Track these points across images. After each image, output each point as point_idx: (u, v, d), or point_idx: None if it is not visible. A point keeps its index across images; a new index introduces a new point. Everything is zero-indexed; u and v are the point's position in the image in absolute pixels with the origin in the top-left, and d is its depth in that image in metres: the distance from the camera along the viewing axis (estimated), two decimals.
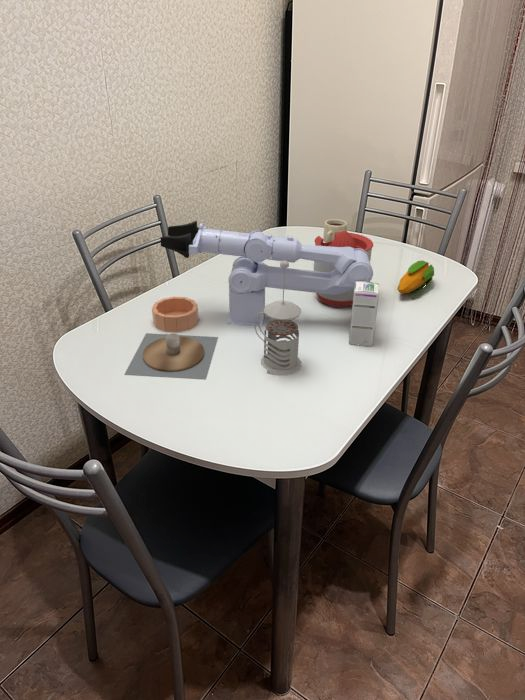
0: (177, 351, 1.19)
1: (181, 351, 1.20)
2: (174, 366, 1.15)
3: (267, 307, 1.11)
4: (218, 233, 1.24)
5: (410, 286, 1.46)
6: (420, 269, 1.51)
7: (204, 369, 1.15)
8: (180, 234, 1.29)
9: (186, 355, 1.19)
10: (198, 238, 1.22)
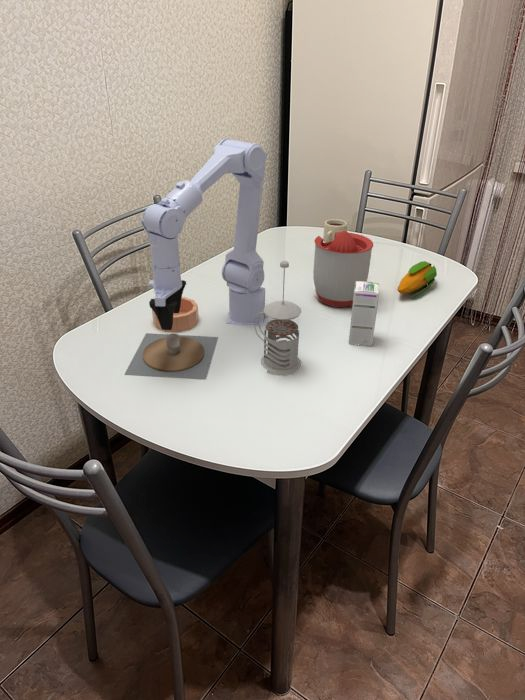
0: (177, 351, 1.19)
1: (181, 351, 1.20)
2: (174, 366, 1.15)
3: (267, 307, 1.11)
4: (152, 266, 1.08)
5: (410, 286, 1.46)
6: (422, 270, 1.50)
7: (204, 369, 1.15)
8: (175, 300, 1.17)
9: (186, 355, 1.19)
10: (154, 291, 1.08)
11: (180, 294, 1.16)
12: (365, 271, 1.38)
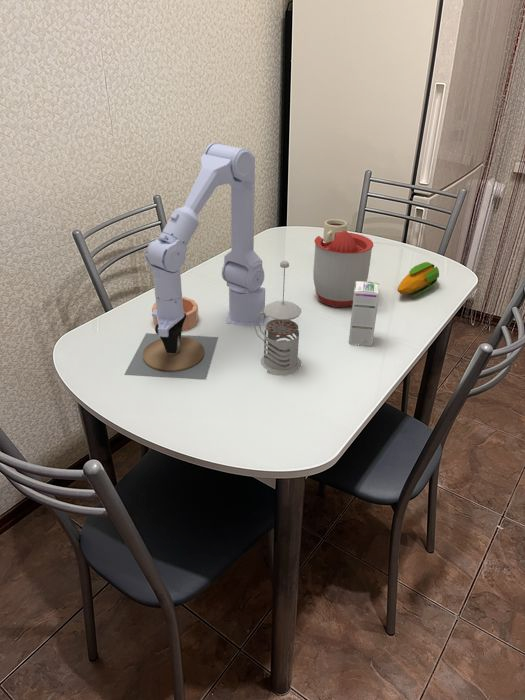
0: (177, 351, 1.19)
1: (181, 351, 1.20)
2: (174, 366, 1.15)
3: (267, 307, 1.11)
4: None
5: (410, 287, 1.45)
6: (424, 271, 1.50)
7: (204, 369, 1.15)
8: None
9: (186, 355, 1.19)
10: None
11: (180, 326, 1.18)
12: (365, 271, 1.38)
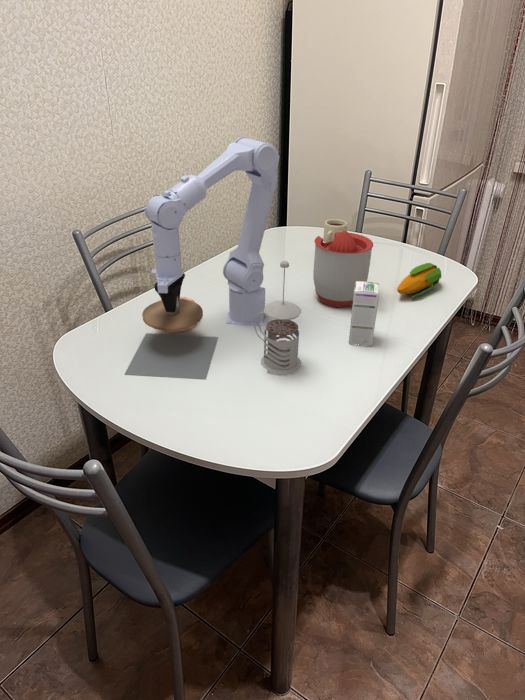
0: (176, 311, 1.20)
1: (180, 312, 1.22)
2: (173, 325, 1.17)
3: (267, 307, 1.11)
4: None
5: (410, 287, 1.45)
6: (425, 272, 1.49)
7: (204, 369, 1.15)
8: None
9: (185, 315, 1.20)
10: (157, 279, 1.13)
11: (179, 286, 1.20)
12: (365, 271, 1.38)
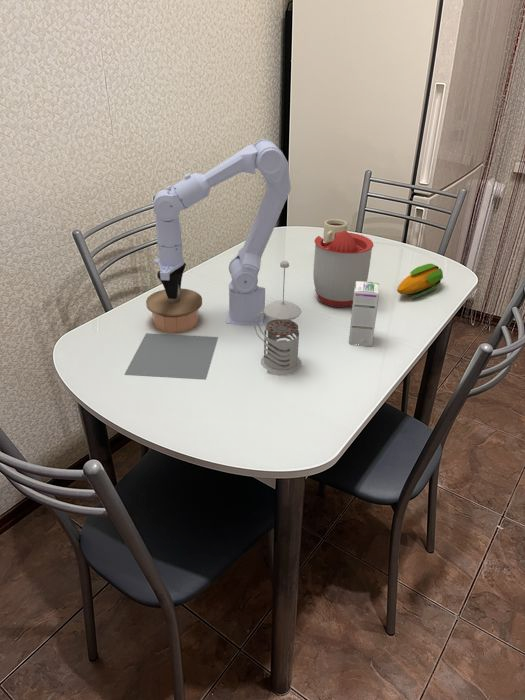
0: (177, 299, 1.30)
1: (181, 300, 1.31)
2: (174, 311, 1.26)
3: (267, 307, 1.11)
4: None
5: (410, 287, 1.45)
6: (426, 272, 1.49)
7: (204, 369, 1.15)
8: None
9: (186, 303, 1.29)
10: None
11: (180, 275, 1.29)
12: (365, 271, 1.38)
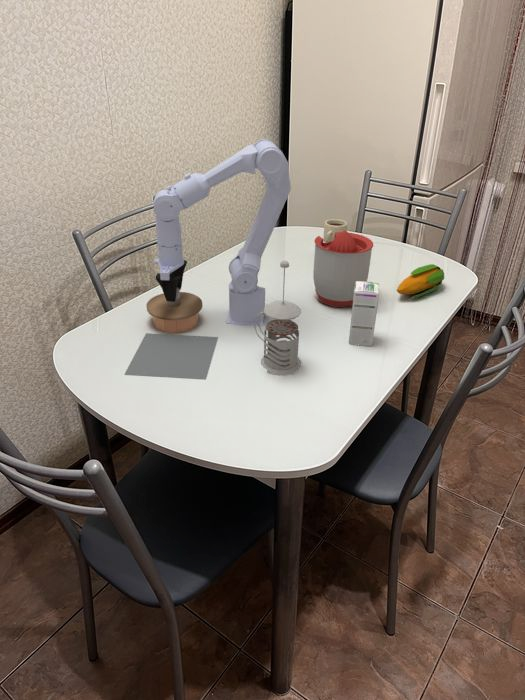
0: (177, 303, 1.30)
1: (181, 303, 1.32)
2: (174, 315, 1.26)
3: (267, 307, 1.11)
4: None
5: (410, 287, 1.45)
6: (427, 273, 1.49)
7: (204, 369, 1.15)
8: None
9: (186, 307, 1.30)
10: None
11: (182, 272, 1.30)
12: (365, 271, 1.38)
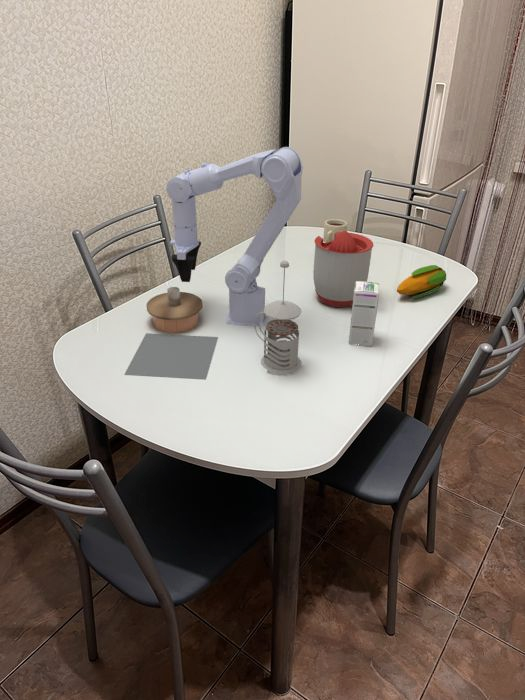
0: (177, 303, 1.30)
1: (181, 303, 1.32)
2: (174, 315, 1.26)
3: (267, 307, 1.11)
4: (174, 227, 1.27)
5: (410, 288, 1.45)
6: (428, 273, 1.48)
7: (204, 369, 1.15)
8: None
9: (186, 307, 1.30)
10: (176, 247, 1.27)
11: (196, 253, 1.36)
12: (365, 271, 1.38)
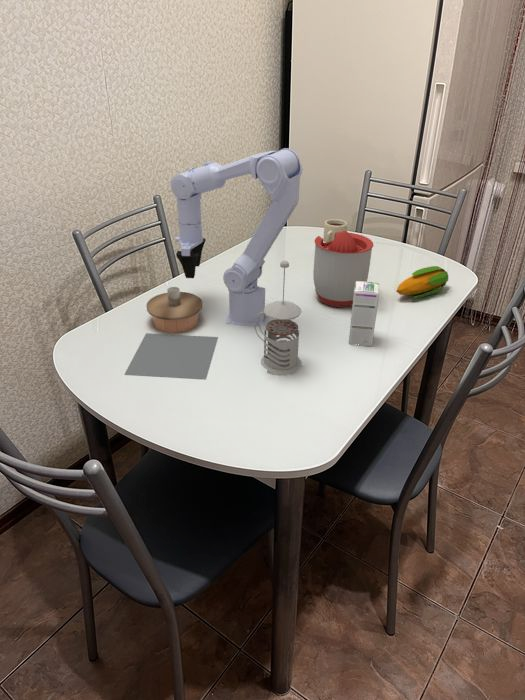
0: (177, 303, 1.30)
1: (181, 303, 1.32)
2: (174, 315, 1.26)
3: (267, 307, 1.11)
4: None
5: (410, 288, 1.45)
6: (429, 274, 1.48)
7: (204, 369, 1.15)
8: None
9: (186, 307, 1.30)
10: (180, 244, 1.29)
11: (200, 249, 1.38)
12: (365, 271, 1.38)
